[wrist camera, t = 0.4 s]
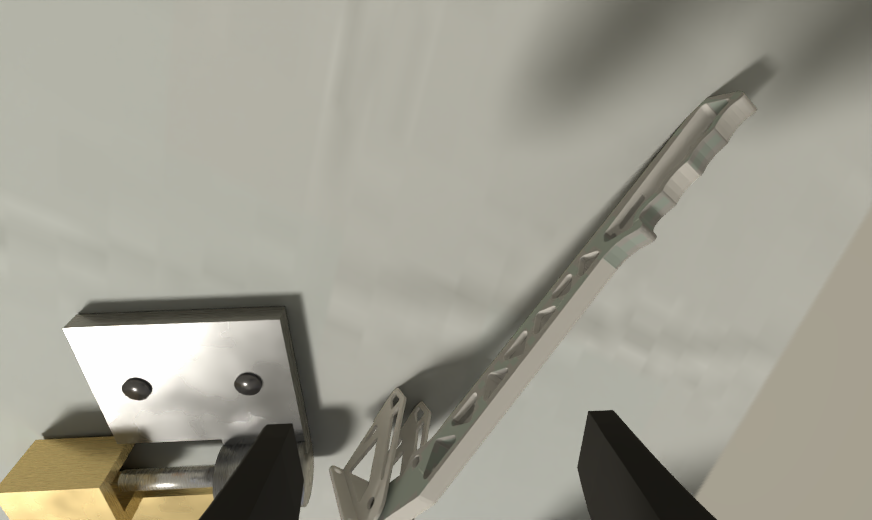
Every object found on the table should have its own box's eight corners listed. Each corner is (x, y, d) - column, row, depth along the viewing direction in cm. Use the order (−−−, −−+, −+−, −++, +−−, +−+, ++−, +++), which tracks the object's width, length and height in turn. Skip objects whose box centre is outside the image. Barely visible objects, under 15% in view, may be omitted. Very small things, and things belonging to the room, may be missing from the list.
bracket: (327, 464, 24) (369, 636, 15) (559, 111, 26) (727, 66, 17) (380, 489, 25) (450, 664, 16) (599, 149, 27) (778, 126, 18)
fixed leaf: (316, 465, 27) (305, 521, 24) (148, 474, 27) (117, 531, 24) (284, 306, 22) (266, 353, 19) (76, 314, 22) (27, 363, 19)
